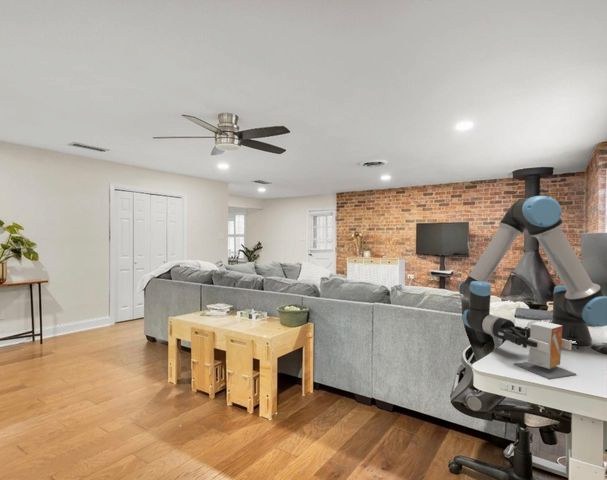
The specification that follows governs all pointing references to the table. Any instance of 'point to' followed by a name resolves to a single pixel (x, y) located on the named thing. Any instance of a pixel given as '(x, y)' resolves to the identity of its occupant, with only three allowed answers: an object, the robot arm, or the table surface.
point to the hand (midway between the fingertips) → (559, 347)
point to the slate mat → (546, 370)
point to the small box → (548, 335)
